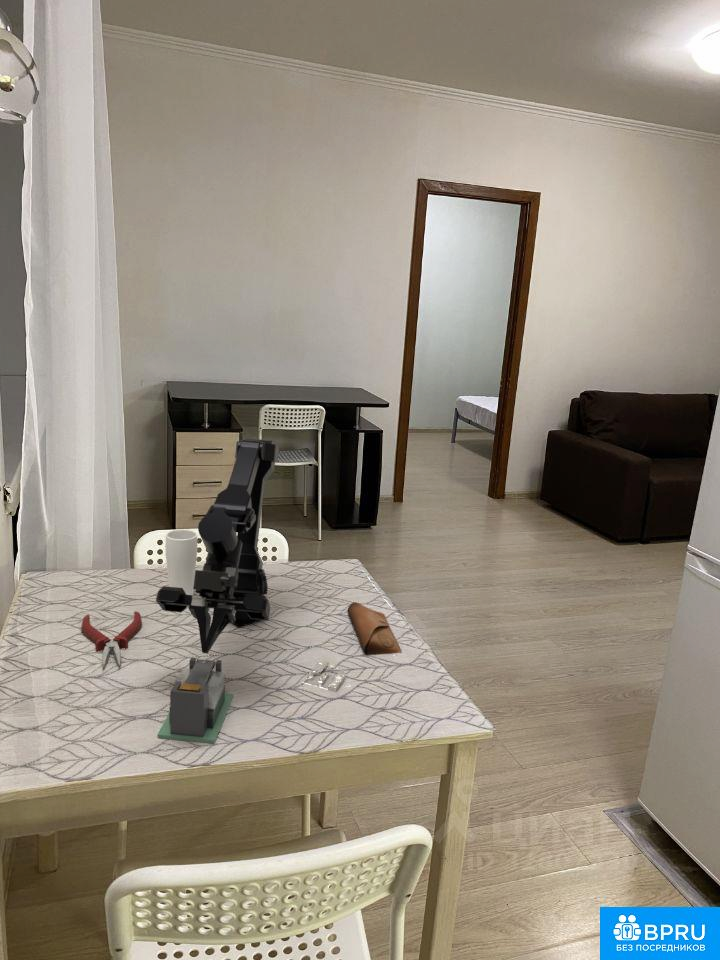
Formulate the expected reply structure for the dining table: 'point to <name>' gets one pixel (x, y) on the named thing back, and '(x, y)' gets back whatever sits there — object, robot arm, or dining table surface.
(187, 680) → the grey hinged lever
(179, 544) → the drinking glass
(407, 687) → the dining table surface
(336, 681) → the clear plastic blister pack
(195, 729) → the socket board
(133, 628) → the pliers
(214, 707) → the heat sink
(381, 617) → the sunglasses case
